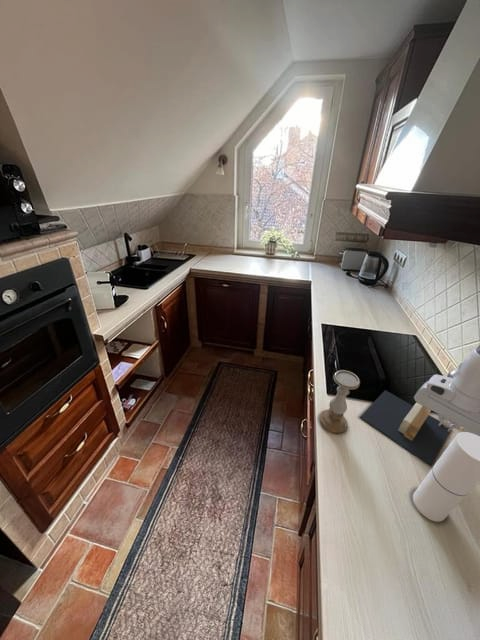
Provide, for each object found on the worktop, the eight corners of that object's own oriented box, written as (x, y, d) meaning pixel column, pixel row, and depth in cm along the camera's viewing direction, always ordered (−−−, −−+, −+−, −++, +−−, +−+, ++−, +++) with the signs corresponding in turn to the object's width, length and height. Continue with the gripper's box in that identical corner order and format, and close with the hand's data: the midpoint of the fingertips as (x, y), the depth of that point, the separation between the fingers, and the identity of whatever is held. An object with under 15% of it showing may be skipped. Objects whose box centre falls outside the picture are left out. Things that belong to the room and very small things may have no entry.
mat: (450, 428, 86) (451, 427, 85) (431, 466, 74) (431, 465, 74) (384, 390, 100) (385, 389, 100) (359, 417, 89) (360, 416, 88)
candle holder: (346, 416, 89) (362, 372, 79) (346, 437, 82) (363, 392, 72) (321, 408, 92) (332, 365, 81) (318, 428, 85) (330, 383, 74)
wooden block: (424, 421, 88) (432, 409, 84) (411, 441, 81) (419, 429, 78) (410, 412, 90) (417, 401, 87) (397, 431, 84) (403, 419, 81)
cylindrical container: (406, 496, 67) (448, 437, 55) (425, 486, 70) (469, 427, 57) (432, 526, 62) (485, 469, 49) (452, 514, 64) (507, 457, 51)
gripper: (518, 413, 65) (489, 446, 73) (429, 371, 79) (412, 402, 86) (514, 427, 62) (485, 459, 69) (421, 380, 75) (405, 411, 82)
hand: (444, 427), depth 77 cm, fingers closed
